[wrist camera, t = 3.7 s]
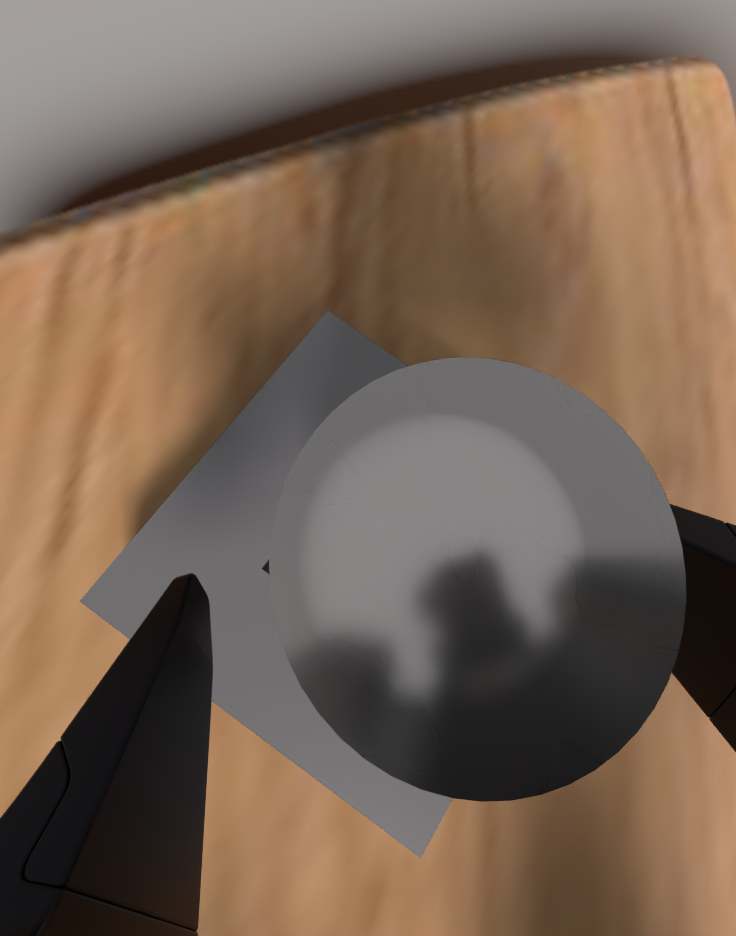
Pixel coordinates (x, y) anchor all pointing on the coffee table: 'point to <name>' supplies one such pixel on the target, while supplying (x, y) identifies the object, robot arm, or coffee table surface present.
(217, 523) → the pocket block
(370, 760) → the steel peg
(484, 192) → the coffee table surface
